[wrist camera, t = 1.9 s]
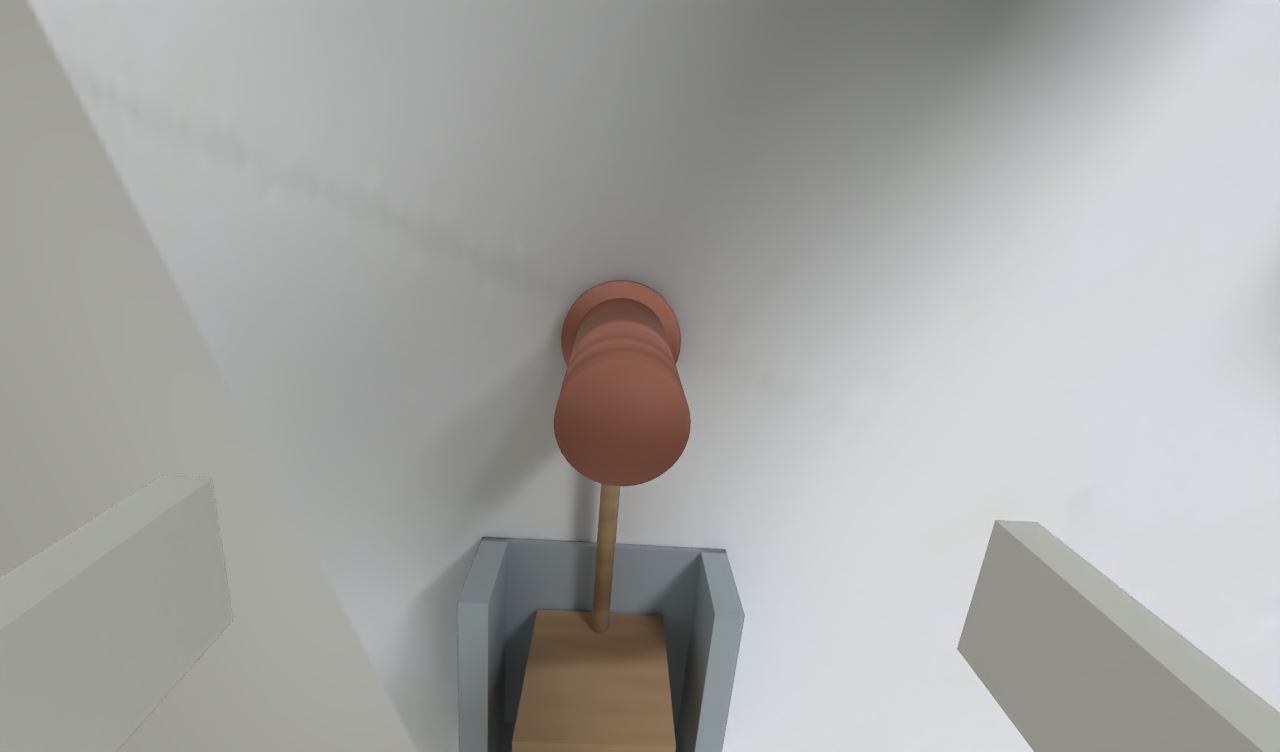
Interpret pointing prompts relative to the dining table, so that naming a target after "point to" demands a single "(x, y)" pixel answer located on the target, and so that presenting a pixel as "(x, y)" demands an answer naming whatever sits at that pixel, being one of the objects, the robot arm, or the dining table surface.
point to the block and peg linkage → (609, 529)
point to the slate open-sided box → (564, 580)
